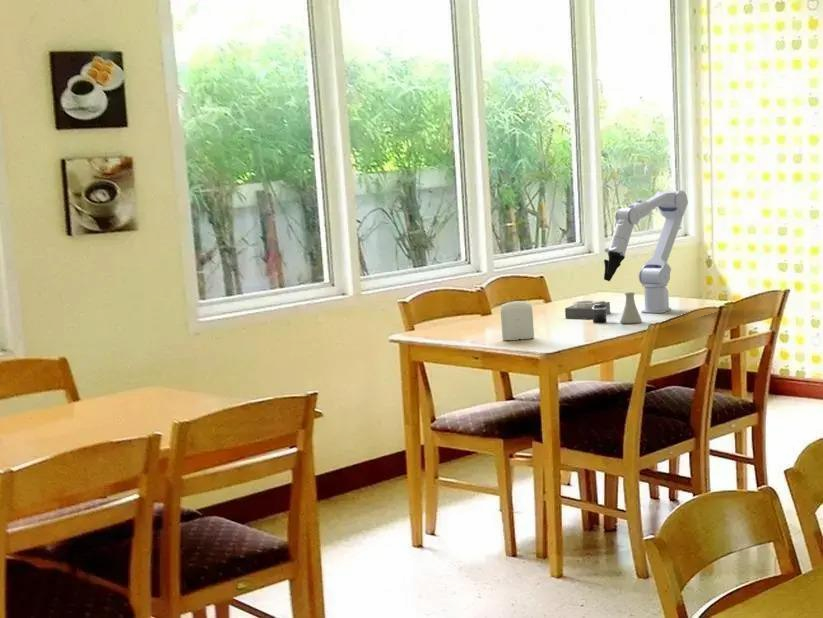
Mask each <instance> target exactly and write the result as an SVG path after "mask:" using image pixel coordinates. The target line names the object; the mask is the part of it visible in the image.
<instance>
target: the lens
mask: <svg viewBox="0 0 823 618" xmlns="http://www.w3.org/2000/svg"><path fill="white" fill-rule="evenodd" d="M592 310H593V319H592V323H593V322H594V323H593V324H604V323H607V314H606V304H601V303H600V304H593V305H592Z"/></svg>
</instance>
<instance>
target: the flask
mask: <svg viewBox="0 0 823 618" xmlns="http://www.w3.org/2000/svg"><path fill="white" fill-rule="evenodd" d="M624 295H625V305H624V308H623V311H622V312H623V313H622V315H621V318H620V322H619V323H621V324H628V325H629V324H630V325H631V324H638V323H641V322H642V317H641V316H640V312H639V311H638V308H637V306H636V302H635V292H625V293H624Z"/></svg>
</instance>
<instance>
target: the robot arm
mask: <svg viewBox="0 0 823 618" xmlns="http://www.w3.org/2000/svg"><path fill="white" fill-rule="evenodd" d="M688 203H689V200H688V196H687V194H686V191H684V190H681V189H680V190H659V191H656V192H655V195H653V196H651V197H650V198H648V199H646V200H645V199H641V198H640V199H637V200H636V202H634V203H632V204H628V206H627V207H621V208H619V209H618V210H617V212H615V216H614V217H615V223H614V230H613V234H612V237H611V240H610V243H609V247H608V248H604V252H605V253H607V255H608V259H604V260H603V263H604V273H603V280H604V281H607V282H611V280H612V278H613V276H615V274H616V272H617V270H618V268H620V266H621V263H622V261H623V260H624V259H625V258H626V251H627V248H628V245H629V242H630V238H631V235H632V232H633V229H634V226H636V225H638V224H639V222H640V220H641V219H644V218H645V217H647V216H648V215H649V214H650V213H651V211H652V210H654V209H655V208H658V210H659V212H660V215H661V216H662V217H664V218H665V220H664V224H663V226H662V229H661V232H660V235H659V238H658V241H657V243H656V246H655V249H654V251H653V255H652V257H651V258H650V259H647V261H645V262H644V264H643V266H642V268H640V270H639V271H638V281H639V283H640V284H641V285H642V287H643V289H644V309H643V310H641V311H640V313H646V314H647V313H648V314H649V313H650V314H651V313H652V314H656V313H657V314H663V313H665V312H668V311H669V310H672V307H670V306H669V305H670V304H669V303H670V300H669V299H670V298H669V290H668V288H667V286H668V283H669V282H670V278H671V271H672V267H671V266H670V264H669V263H668V260H669V257H670V255H671V252H672V249H673V246H674V243H675V241H676V238H677V235H678V232H679V230H680V226H681V224H682V221H683V216H684V215H685V212H686V209H687V206H688Z"/></svg>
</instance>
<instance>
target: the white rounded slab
mask: <svg viewBox="0 0 823 618" xmlns="http://www.w3.org/2000/svg"><path fill="white" fill-rule="evenodd" d="M533 314H534V313H533V306H532V305H531V302H527V301H521V300H516V301H509V302H505V303H503V304H501V308H500V321H501V322H500V323H501V335H502V337H501V339H502V341H503V340H510V341H519V339H521V340H532V339H531V338H533V339H534V338H535V330H534V329H535V328H534V317H533V316H534V315H533Z"/></svg>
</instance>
